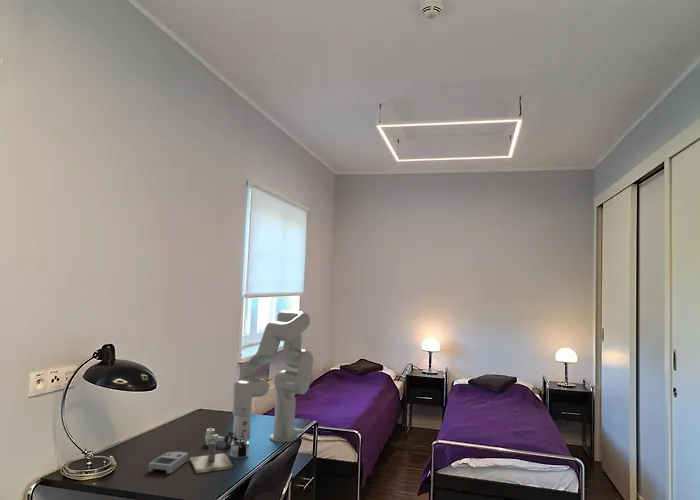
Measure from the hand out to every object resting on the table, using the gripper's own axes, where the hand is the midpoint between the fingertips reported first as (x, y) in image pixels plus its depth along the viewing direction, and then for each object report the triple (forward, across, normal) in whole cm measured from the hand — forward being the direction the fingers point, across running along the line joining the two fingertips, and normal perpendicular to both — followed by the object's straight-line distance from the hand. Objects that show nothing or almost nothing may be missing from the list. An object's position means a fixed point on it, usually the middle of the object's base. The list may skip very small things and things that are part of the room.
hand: (239, 453), depth 205 cm
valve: (+1, +15, +6) cm, 16 cm away
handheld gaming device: (+1, -2, +29) cm, 29 cm away
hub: (+1, 0, 0) cm, 1 cm away
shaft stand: (+1, -6, +13) cm, 15 cm away
